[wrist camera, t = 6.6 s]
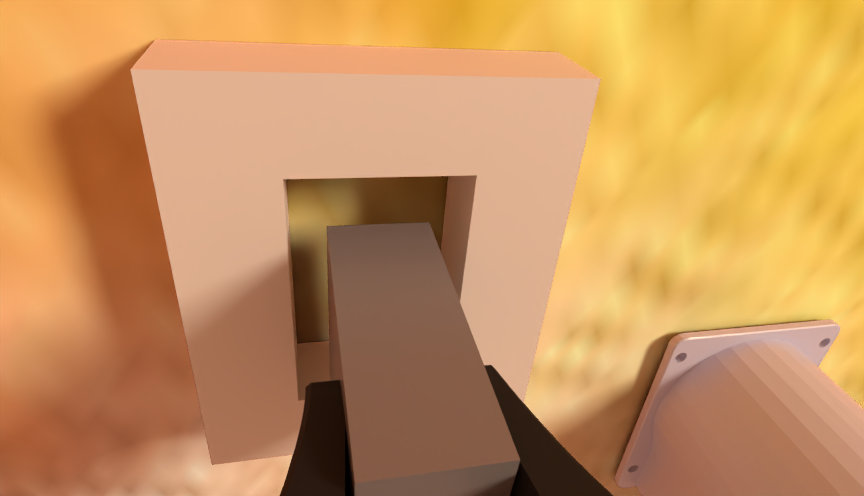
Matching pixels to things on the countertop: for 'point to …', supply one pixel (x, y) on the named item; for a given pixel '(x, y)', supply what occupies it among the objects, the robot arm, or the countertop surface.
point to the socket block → (349, 158)
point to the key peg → (410, 370)
